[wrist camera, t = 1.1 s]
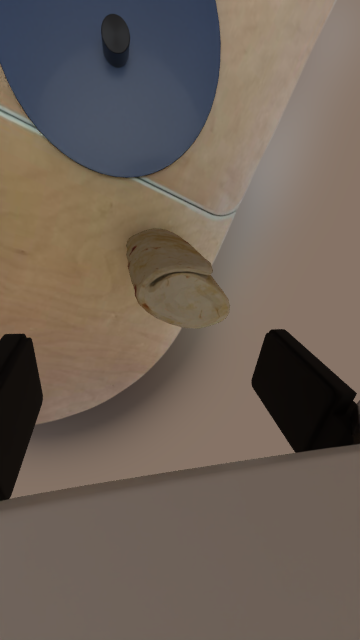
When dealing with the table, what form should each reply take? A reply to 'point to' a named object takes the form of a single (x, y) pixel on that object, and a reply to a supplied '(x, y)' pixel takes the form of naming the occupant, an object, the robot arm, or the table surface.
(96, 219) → the table surface
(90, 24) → the pot lid
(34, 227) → the table surface
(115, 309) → the table surface
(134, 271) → the food model
